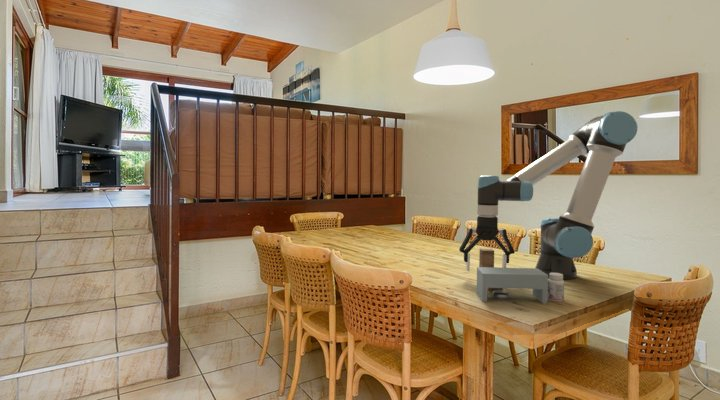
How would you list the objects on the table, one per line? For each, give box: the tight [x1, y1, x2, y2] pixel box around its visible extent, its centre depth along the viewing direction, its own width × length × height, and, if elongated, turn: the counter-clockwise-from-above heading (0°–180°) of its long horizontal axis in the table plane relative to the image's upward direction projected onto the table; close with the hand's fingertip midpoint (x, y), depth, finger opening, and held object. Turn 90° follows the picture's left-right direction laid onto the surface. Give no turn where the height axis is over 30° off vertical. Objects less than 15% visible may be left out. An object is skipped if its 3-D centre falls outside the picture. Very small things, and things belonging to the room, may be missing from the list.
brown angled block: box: [478, 247, 504, 292], centre depth 142 cm, size 17×5×12 cm, turn 174°
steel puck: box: [492, 289, 510, 301], centre depth 127 cm, size 5×5×2 cm
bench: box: [476, 266, 549, 304], centre depth 126 cm, size 20×9×9 cm, turn 84°
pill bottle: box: [547, 273, 565, 302], centre depth 125 cm, size 5×5×8 cm
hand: (485, 271), depth 148 cm, fingers open, 13 cm apart
